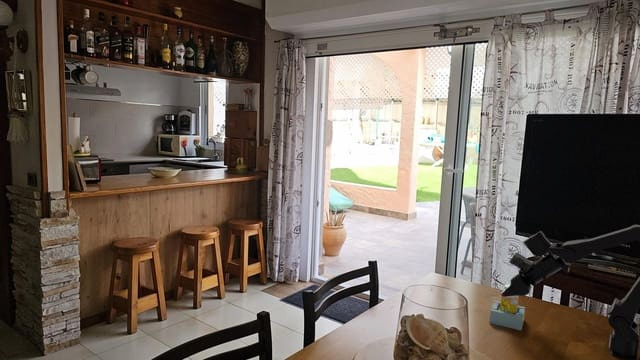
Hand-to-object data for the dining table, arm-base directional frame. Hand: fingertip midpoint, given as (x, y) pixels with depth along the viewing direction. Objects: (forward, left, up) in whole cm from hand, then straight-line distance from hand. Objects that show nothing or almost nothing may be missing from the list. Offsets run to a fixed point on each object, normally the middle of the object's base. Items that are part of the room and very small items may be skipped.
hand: (505, 291), depth 149 cm
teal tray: (-1, 0, -10) cm, 10 cm away
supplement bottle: (-2, 0, -8) cm, 8 cm away
